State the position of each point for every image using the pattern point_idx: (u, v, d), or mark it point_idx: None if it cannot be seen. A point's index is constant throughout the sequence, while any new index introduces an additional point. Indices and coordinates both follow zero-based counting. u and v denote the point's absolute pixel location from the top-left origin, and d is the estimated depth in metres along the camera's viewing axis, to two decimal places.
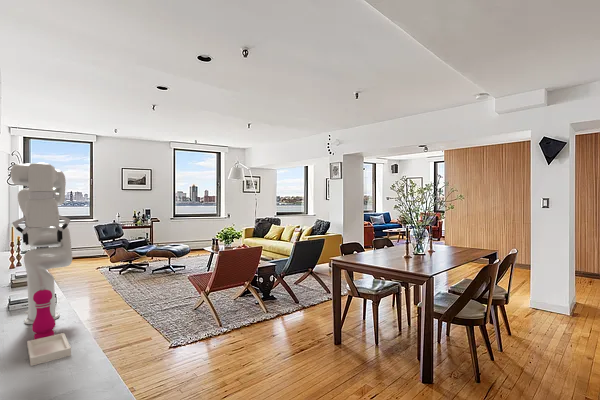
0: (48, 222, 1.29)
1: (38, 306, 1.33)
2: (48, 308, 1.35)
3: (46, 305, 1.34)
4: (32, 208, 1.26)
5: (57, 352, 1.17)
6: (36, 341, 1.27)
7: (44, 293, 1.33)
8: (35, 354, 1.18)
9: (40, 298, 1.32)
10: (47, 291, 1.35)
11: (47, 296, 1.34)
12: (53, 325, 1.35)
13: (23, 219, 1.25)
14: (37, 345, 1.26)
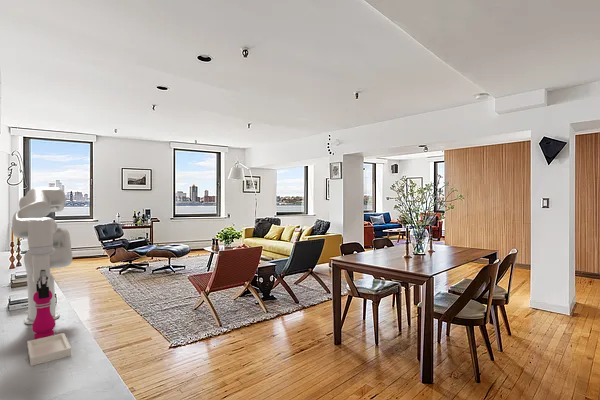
0: None
1: (38, 306, 1.33)
2: (48, 308, 1.35)
3: (46, 305, 1.34)
4: (49, 261, 1.34)
5: (57, 352, 1.17)
6: (36, 341, 1.27)
7: None
8: (35, 354, 1.18)
9: None
10: None
11: None
12: (53, 325, 1.35)
13: (45, 273, 1.31)
14: (37, 345, 1.26)
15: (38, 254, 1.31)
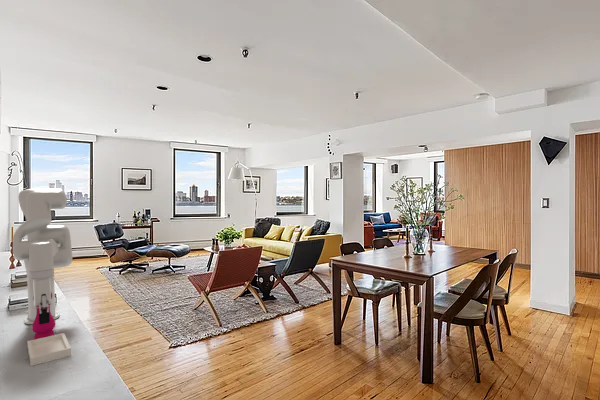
0: None
1: (38, 306, 1.33)
2: None
3: None
4: (50, 285, 1.34)
5: (57, 352, 1.17)
6: (36, 341, 1.27)
7: None
8: (35, 354, 1.18)
9: None
10: None
11: None
12: (53, 325, 1.35)
13: (45, 299, 1.32)
14: (37, 345, 1.26)
15: (39, 278, 1.31)
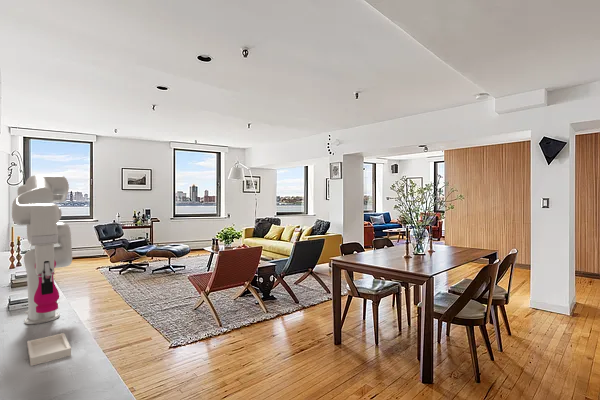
0: None
1: (40, 275, 1.20)
2: None
3: None
4: (53, 252, 1.21)
5: (57, 352, 1.17)
6: (36, 341, 1.27)
7: None
8: (35, 354, 1.18)
9: None
10: None
11: None
12: (57, 296, 1.22)
13: (49, 266, 1.19)
14: (37, 345, 1.26)
15: (41, 243, 1.19)
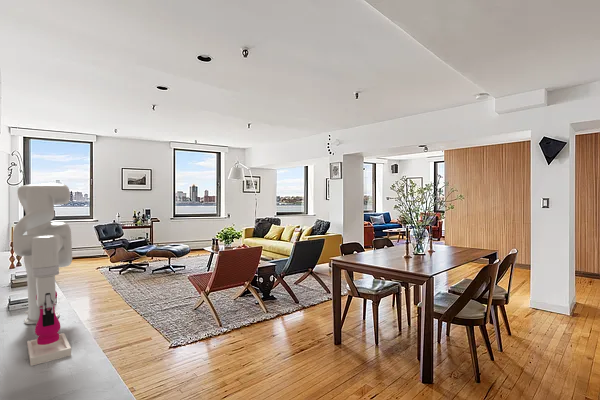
0: None
1: (41, 306, 1.20)
2: None
3: None
4: None
5: (57, 352, 1.17)
6: (36, 341, 1.27)
7: None
8: (35, 354, 1.18)
9: None
10: None
11: None
12: (58, 327, 1.23)
13: (50, 298, 1.19)
14: (37, 345, 1.26)
15: (43, 275, 1.19)
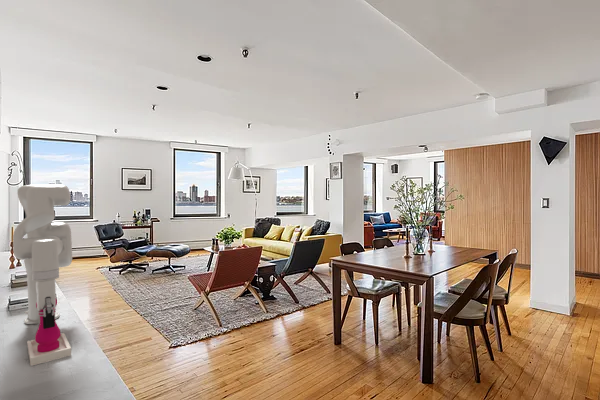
0: None
1: (42, 314, 1.20)
2: None
3: None
4: (55, 287, 1.21)
5: (57, 352, 1.17)
6: None
7: None
8: (35, 354, 1.18)
9: None
10: None
11: None
12: (58, 335, 1.23)
13: (50, 300, 1.18)
14: (37, 345, 1.26)
15: (43, 279, 1.19)
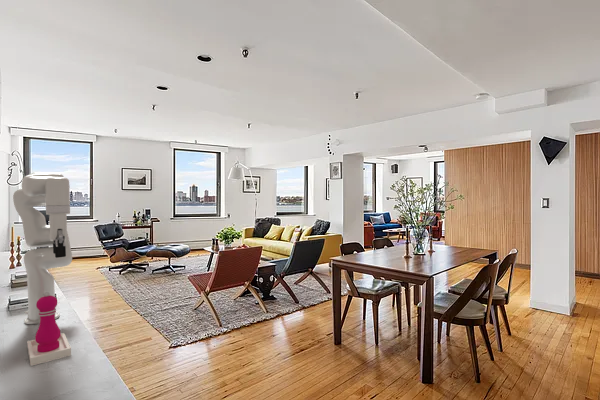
0: None
1: (42, 314, 1.20)
2: (53, 316, 1.23)
3: (51, 313, 1.21)
4: (66, 221, 1.32)
5: (57, 352, 1.17)
6: None
7: (48, 299, 1.21)
8: (35, 354, 1.18)
9: (44, 305, 1.20)
10: (52, 297, 1.22)
11: (52, 303, 1.21)
12: (58, 335, 1.23)
13: (62, 232, 1.29)
14: (37, 345, 1.26)
15: (55, 213, 1.29)
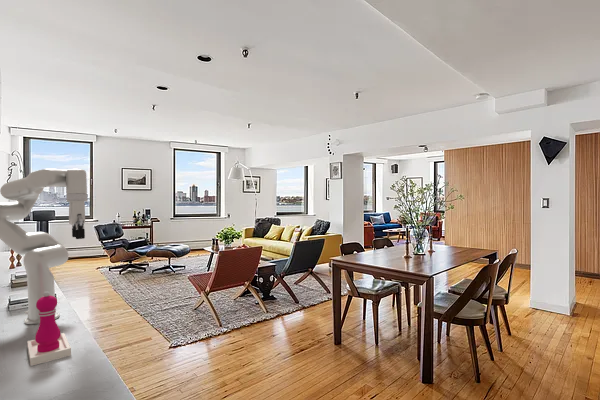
0: None
1: (42, 314, 1.20)
2: (53, 316, 1.22)
3: (50, 313, 1.21)
4: (84, 207, 1.50)
5: (57, 352, 1.17)
6: None
7: (48, 300, 1.21)
8: (35, 354, 1.18)
9: (44, 305, 1.20)
10: (52, 297, 1.22)
11: (51, 304, 1.21)
12: (58, 335, 1.23)
13: None
14: (37, 345, 1.26)
15: (75, 200, 1.47)
